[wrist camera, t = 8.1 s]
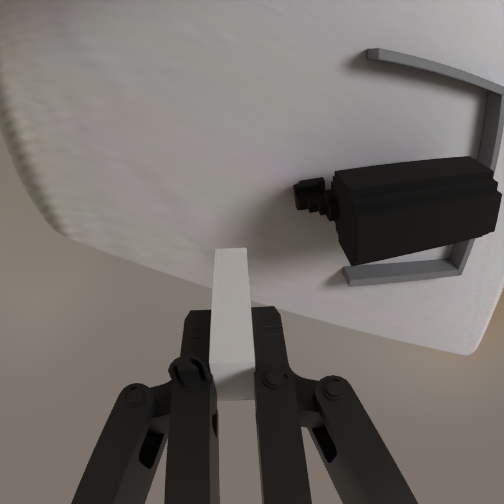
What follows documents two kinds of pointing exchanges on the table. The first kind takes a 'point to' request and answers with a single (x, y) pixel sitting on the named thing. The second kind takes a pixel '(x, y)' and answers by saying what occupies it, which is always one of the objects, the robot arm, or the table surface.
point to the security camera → (405, 206)
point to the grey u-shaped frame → (497, 115)
